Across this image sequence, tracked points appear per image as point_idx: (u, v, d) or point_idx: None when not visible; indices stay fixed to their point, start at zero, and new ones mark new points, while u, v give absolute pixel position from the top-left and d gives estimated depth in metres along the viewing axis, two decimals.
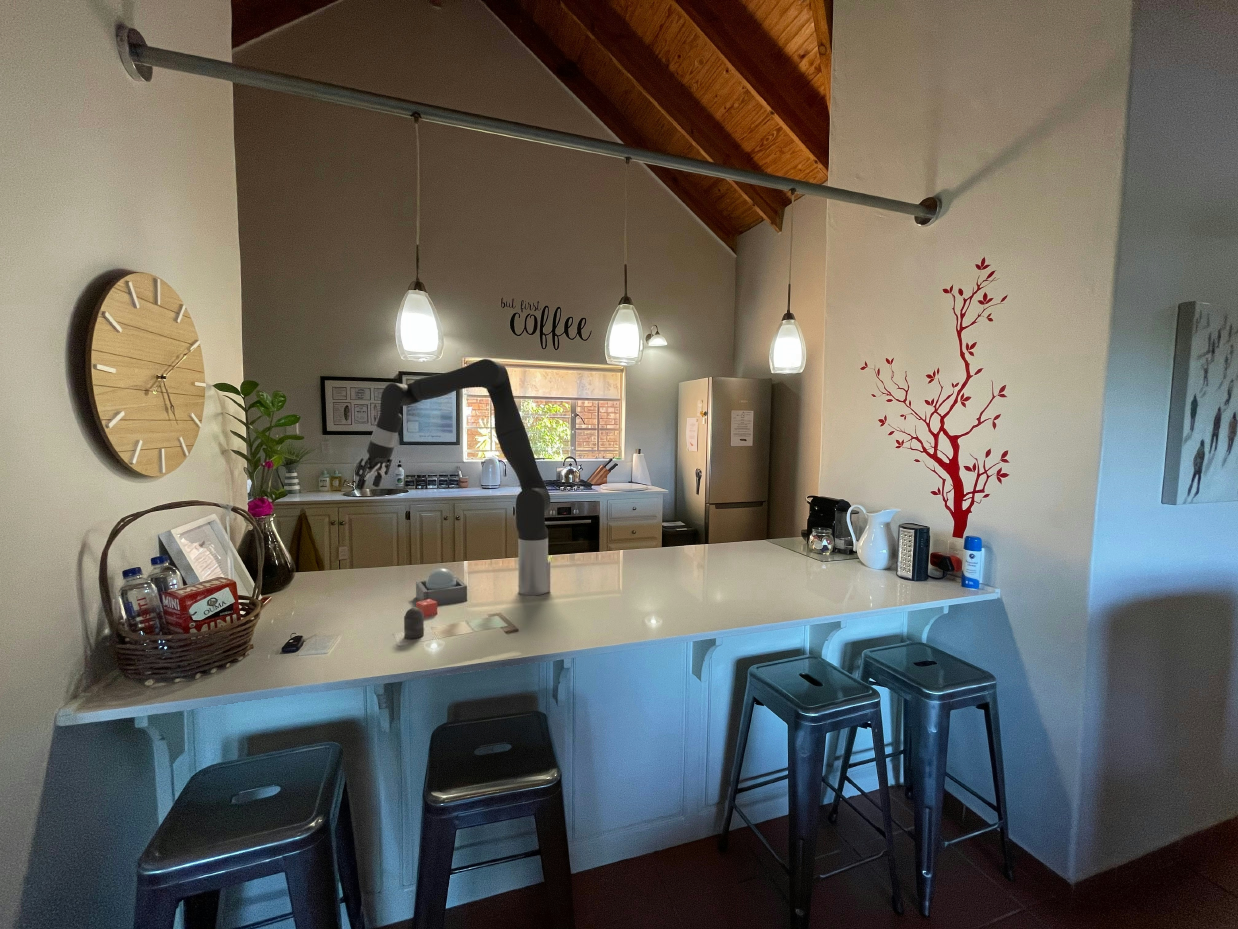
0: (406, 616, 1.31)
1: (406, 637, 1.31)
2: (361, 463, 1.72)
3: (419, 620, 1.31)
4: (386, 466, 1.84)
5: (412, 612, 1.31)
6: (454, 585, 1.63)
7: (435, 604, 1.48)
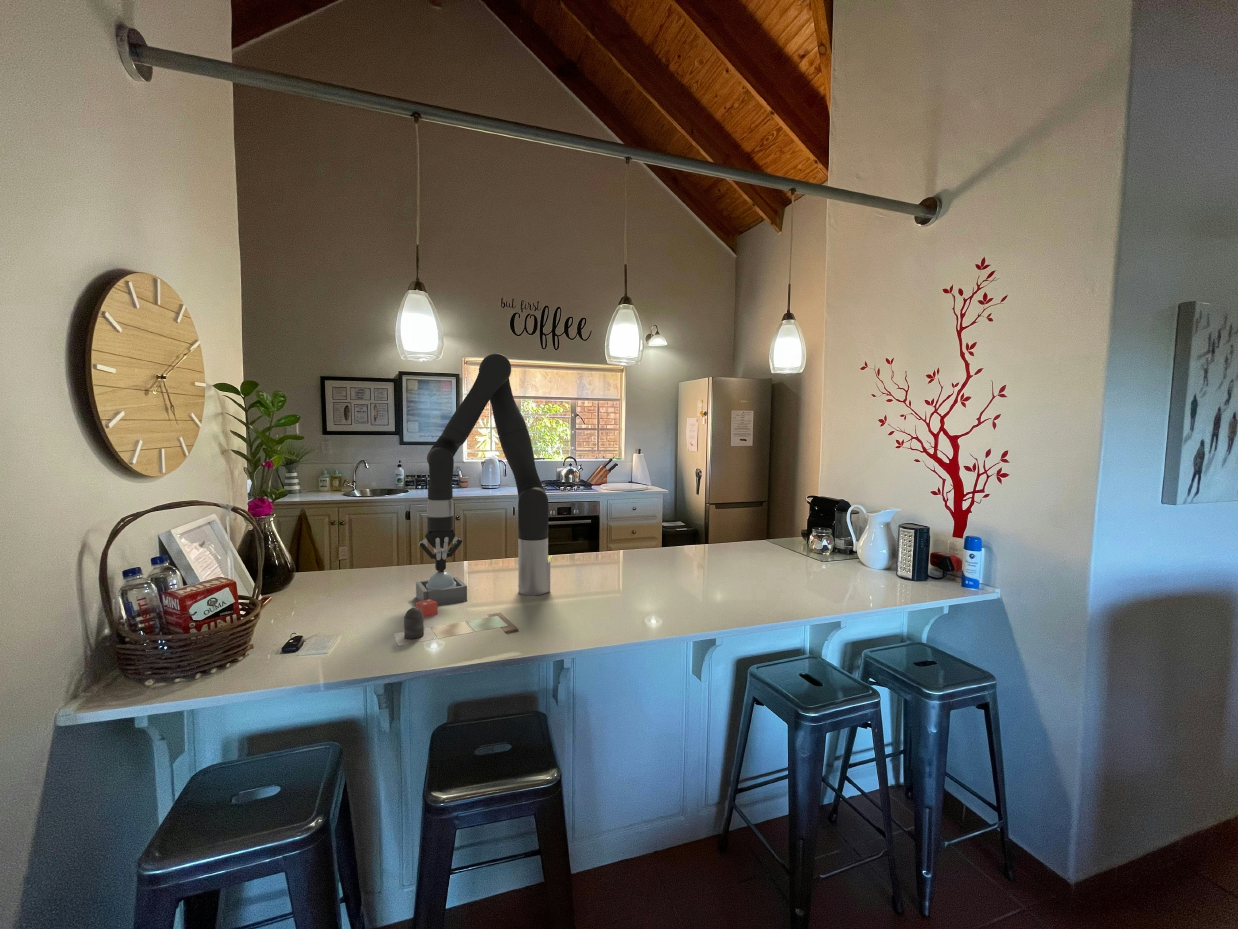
0: (406, 616, 1.31)
1: (406, 637, 1.31)
2: None
3: (419, 620, 1.31)
4: (453, 546, 1.64)
5: (412, 612, 1.31)
6: None
7: (435, 604, 1.48)
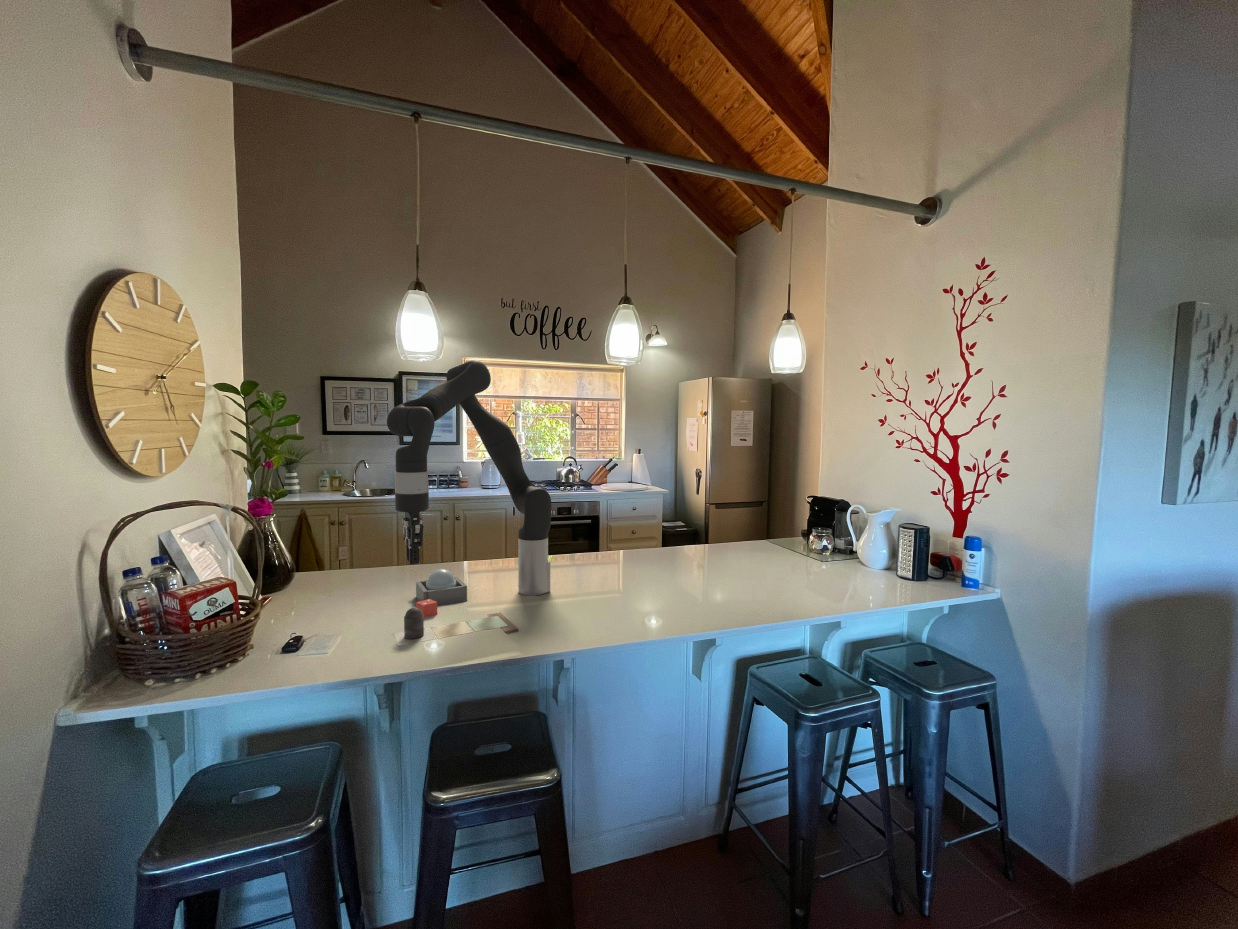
0: (406, 616, 1.31)
1: (406, 637, 1.31)
2: (415, 532, 1.25)
3: (419, 620, 1.31)
4: None
5: (412, 612, 1.31)
6: (454, 586, 1.63)
7: (435, 604, 1.48)
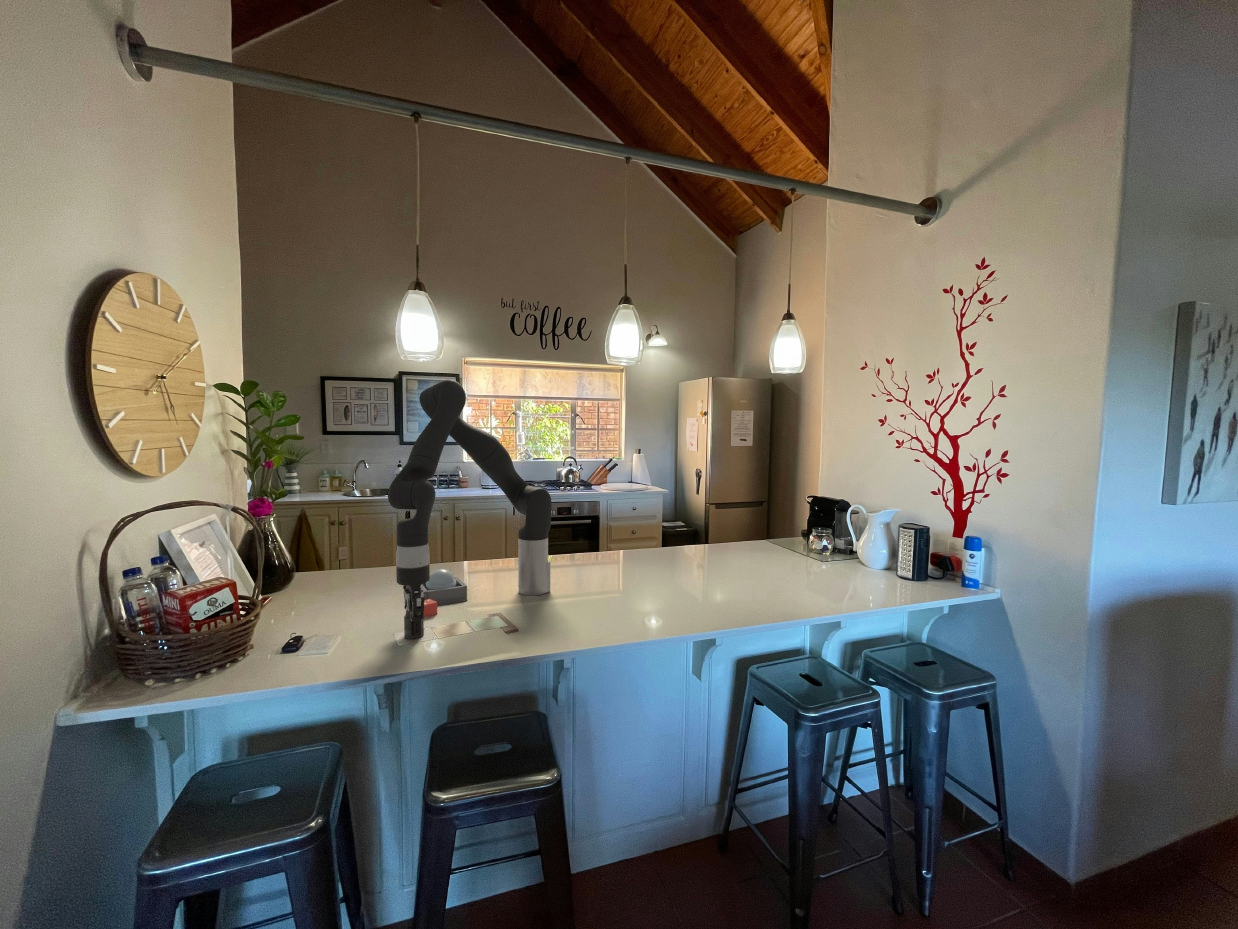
0: (406, 616, 1.31)
1: (406, 637, 1.31)
2: (416, 605, 1.26)
3: None
4: None
5: None
6: (454, 586, 1.63)
7: (435, 604, 1.48)
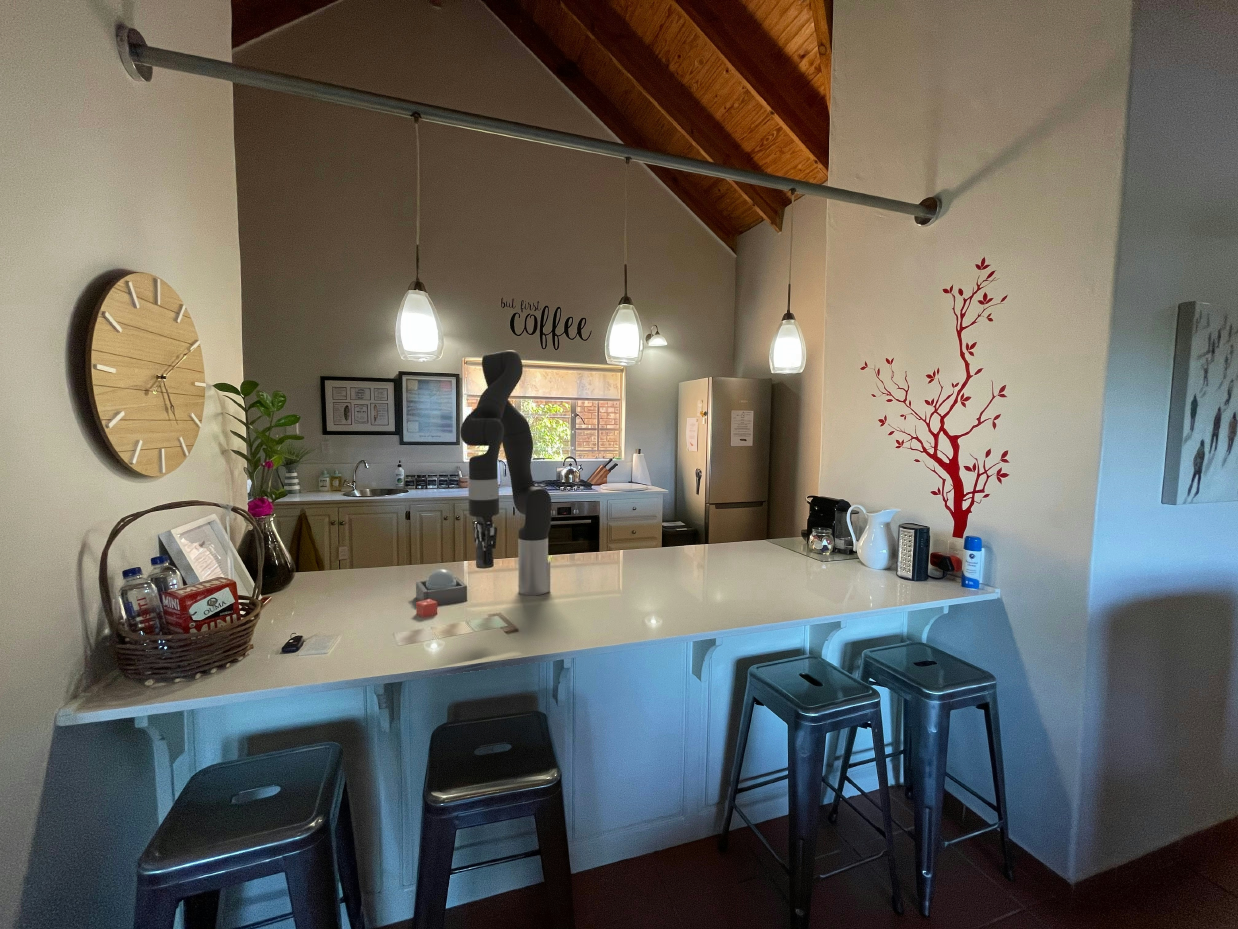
0: (478, 546, 1.39)
1: (478, 566, 1.39)
2: (490, 534, 1.34)
3: None
4: None
5: None
6: (454, 586, 1.63)
7: (435, 604, 1.48)
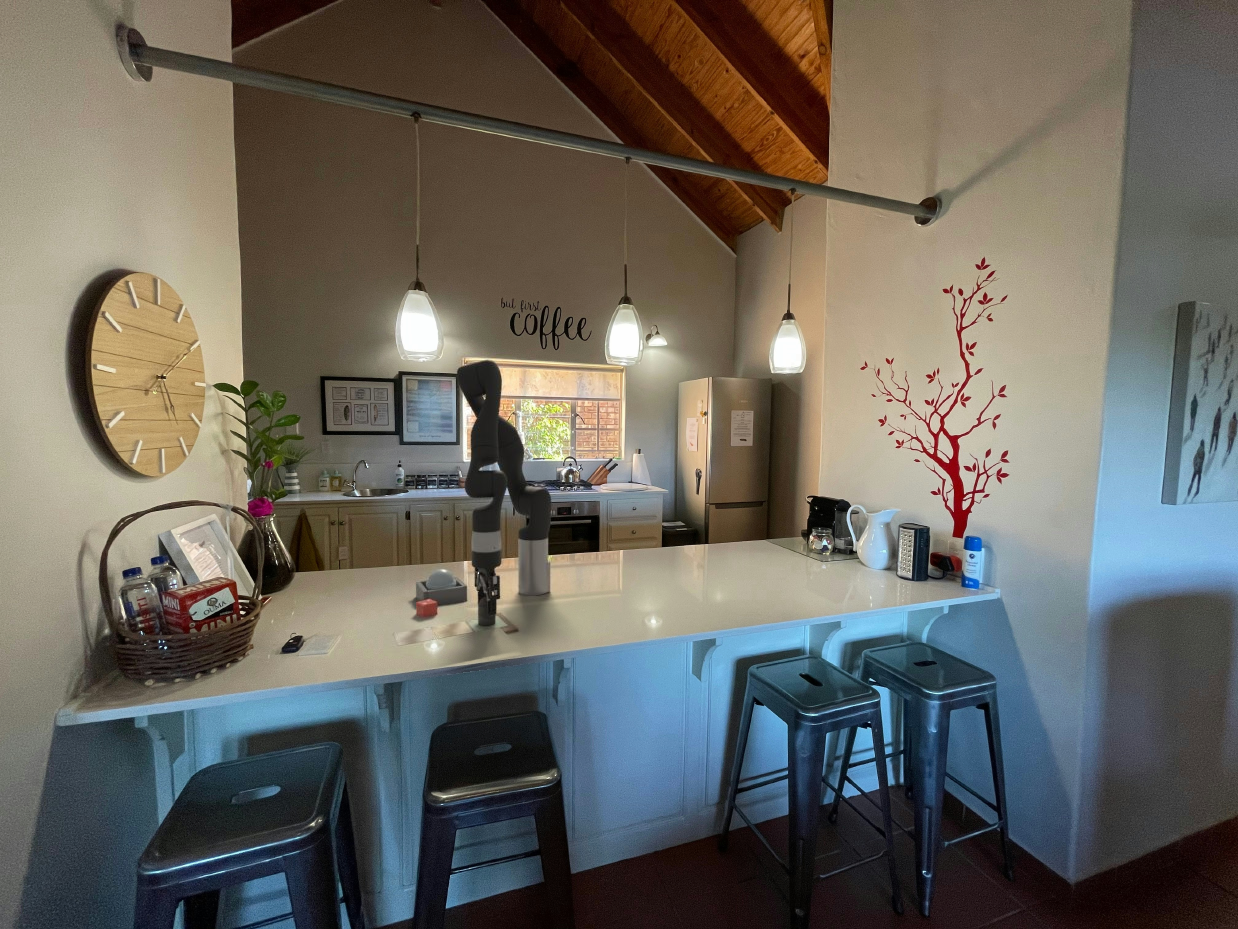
0: (480, 604, 1.40)
1: (480, 624, 1.40)
2: (493, 582, 1.35)
3: None
4: None
5: (486, 600, 1.40)
6: (454, 586, 1.63)
7: (435, 604, 1.48)
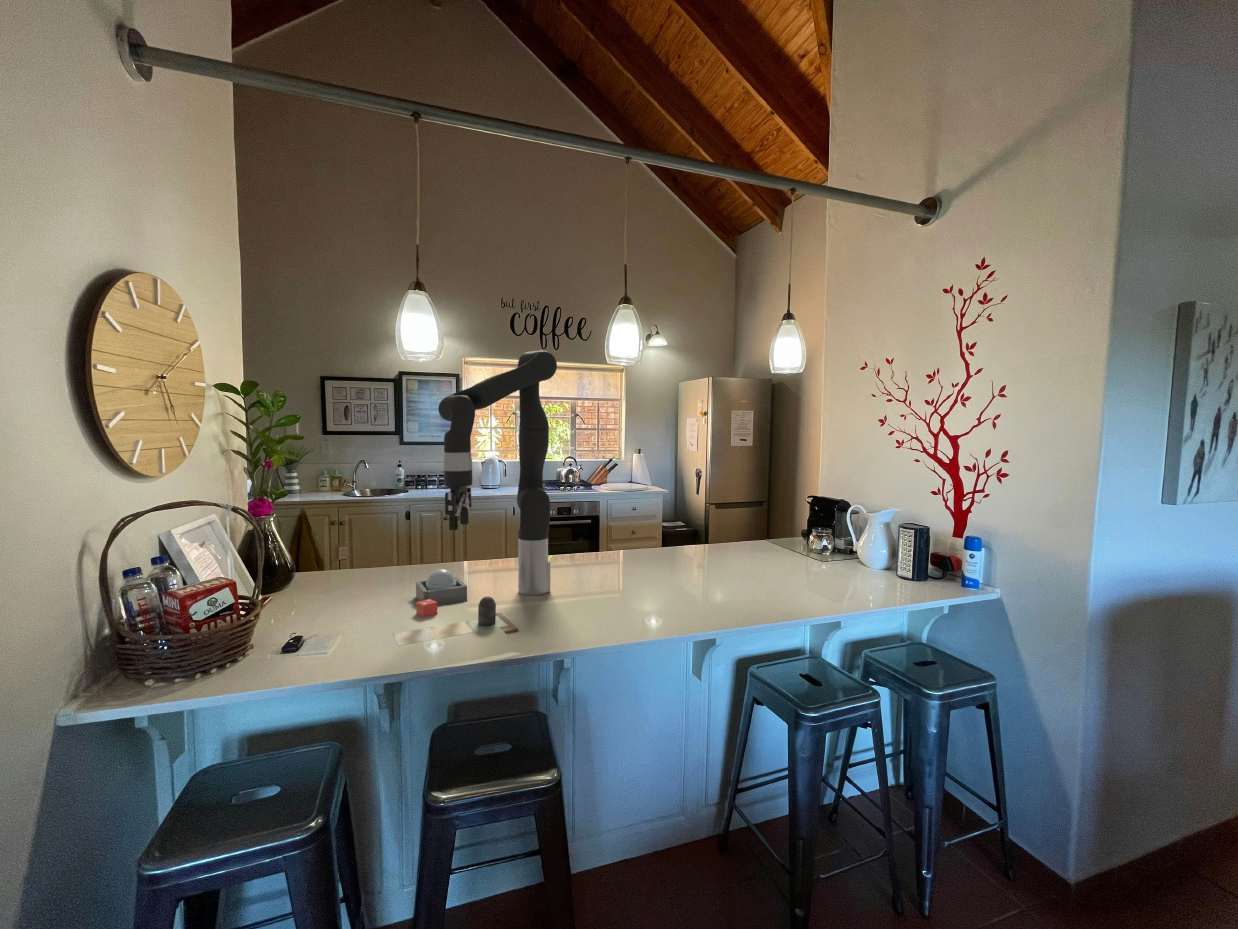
0: (481, 604, 1.40)
1: (480, 623, 1.40)
2: (447, 498, 1.44)
3: (492, 608, 1.40)
4: (467, 497, 1.56)
5: (486, 600, 1.40)
6: (454, 586, 1.63)
7: (435, 604, 1.48)
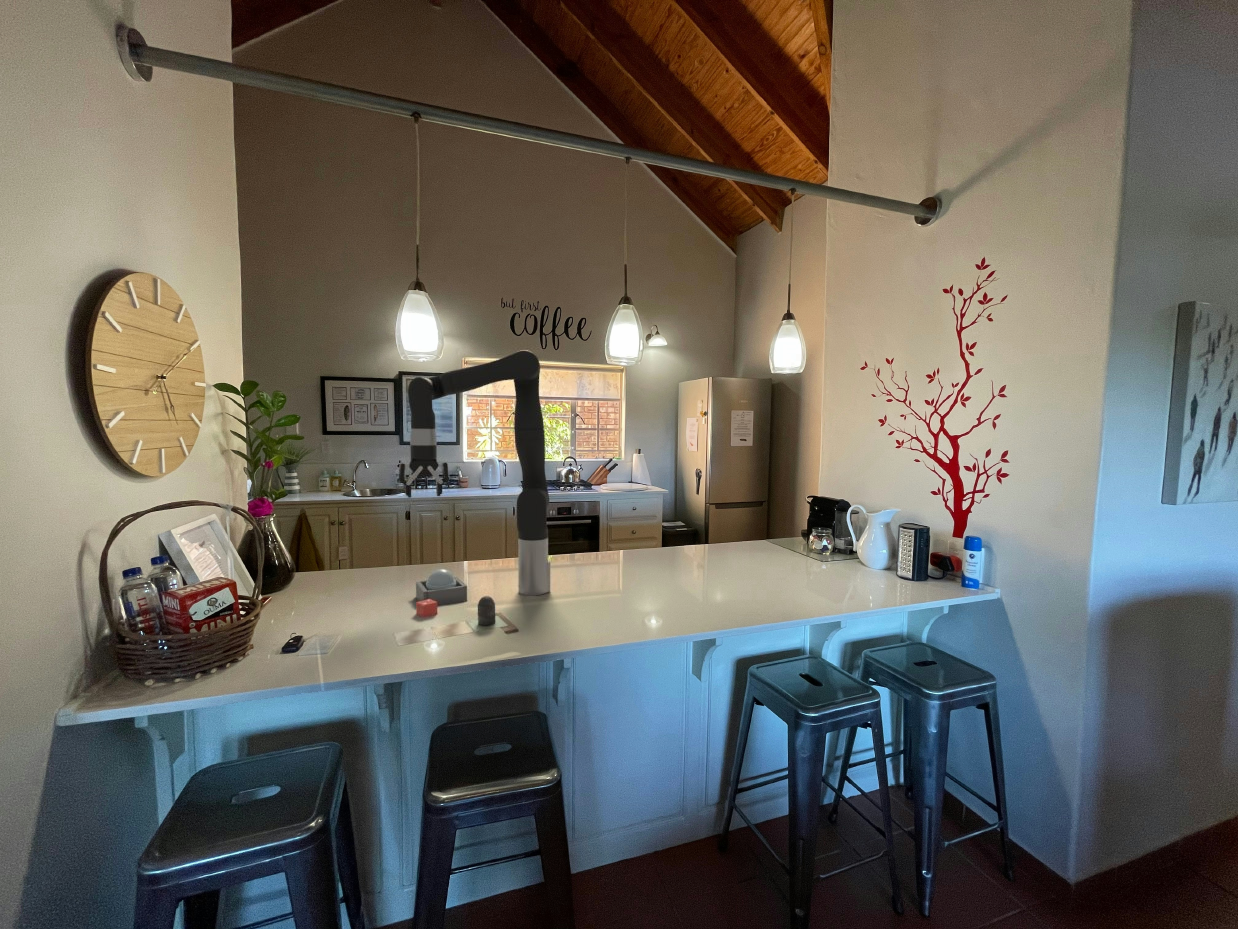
0: (479, 603, 1.40)
1: (479, 623, 1.40)
2: (399, 468, 1.64)
3: (491, 607, 1.40)
4: (443, 472, 1.69)
5: (484, 599, 1.40)
6: (454, 586, 1.63)
7: (435, 604, 1.48)
